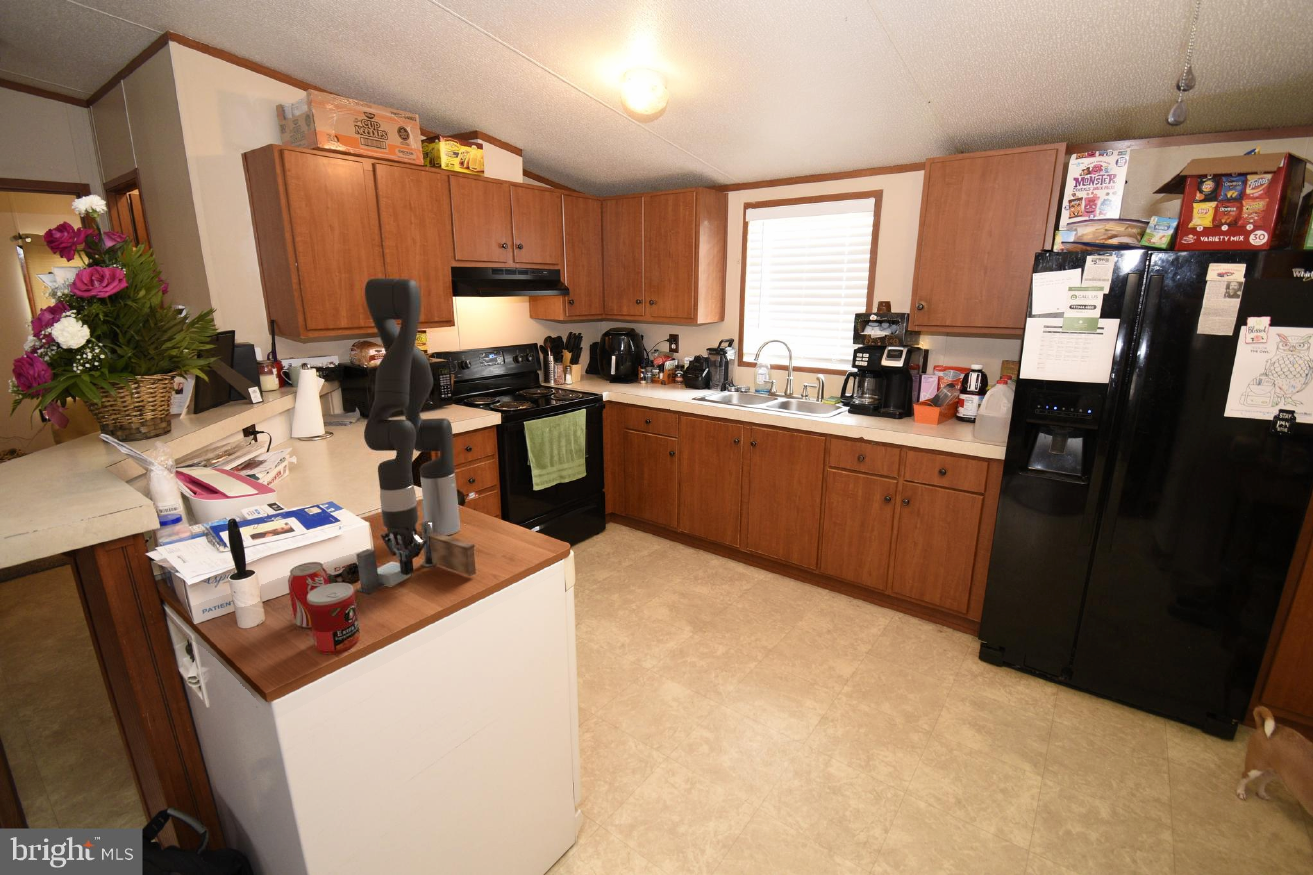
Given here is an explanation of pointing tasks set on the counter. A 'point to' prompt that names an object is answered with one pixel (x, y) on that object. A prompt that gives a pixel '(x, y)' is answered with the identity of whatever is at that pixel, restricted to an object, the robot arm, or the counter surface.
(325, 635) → the canned food
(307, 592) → the soda can
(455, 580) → the counter surface
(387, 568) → the block
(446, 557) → the gate
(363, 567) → the post
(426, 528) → the hinge post
